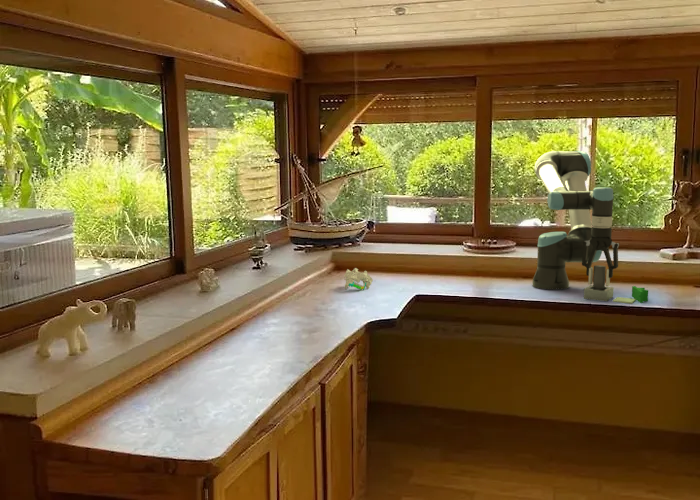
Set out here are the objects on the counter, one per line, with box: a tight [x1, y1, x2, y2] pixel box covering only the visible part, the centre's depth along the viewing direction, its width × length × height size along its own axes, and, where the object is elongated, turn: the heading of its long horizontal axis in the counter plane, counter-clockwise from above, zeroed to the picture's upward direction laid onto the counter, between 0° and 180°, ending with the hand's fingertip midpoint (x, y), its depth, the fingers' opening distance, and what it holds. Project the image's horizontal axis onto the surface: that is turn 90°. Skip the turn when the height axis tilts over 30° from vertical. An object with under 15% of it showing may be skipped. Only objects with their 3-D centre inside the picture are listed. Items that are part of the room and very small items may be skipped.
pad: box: [612, 296, 637, 305], centre depth 275 cm, size 7×7×1 cm
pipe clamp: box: [631, 285, 649, 304], centre depth 277 cm, size 11×4×5 cm, turn 174°
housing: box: [583, 284, 614, 302], centre depth 281 cm, size 9×9×4 cm
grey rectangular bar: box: [592, 264, 607, 290], centre depth 280 cm, size 4×4×13 cm
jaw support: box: [344, 267, 374, 291], centre depth 302 cm, size 12×9×10 cm
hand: (599, 284), depth 281 cm, fingers open, 6 cm apart
